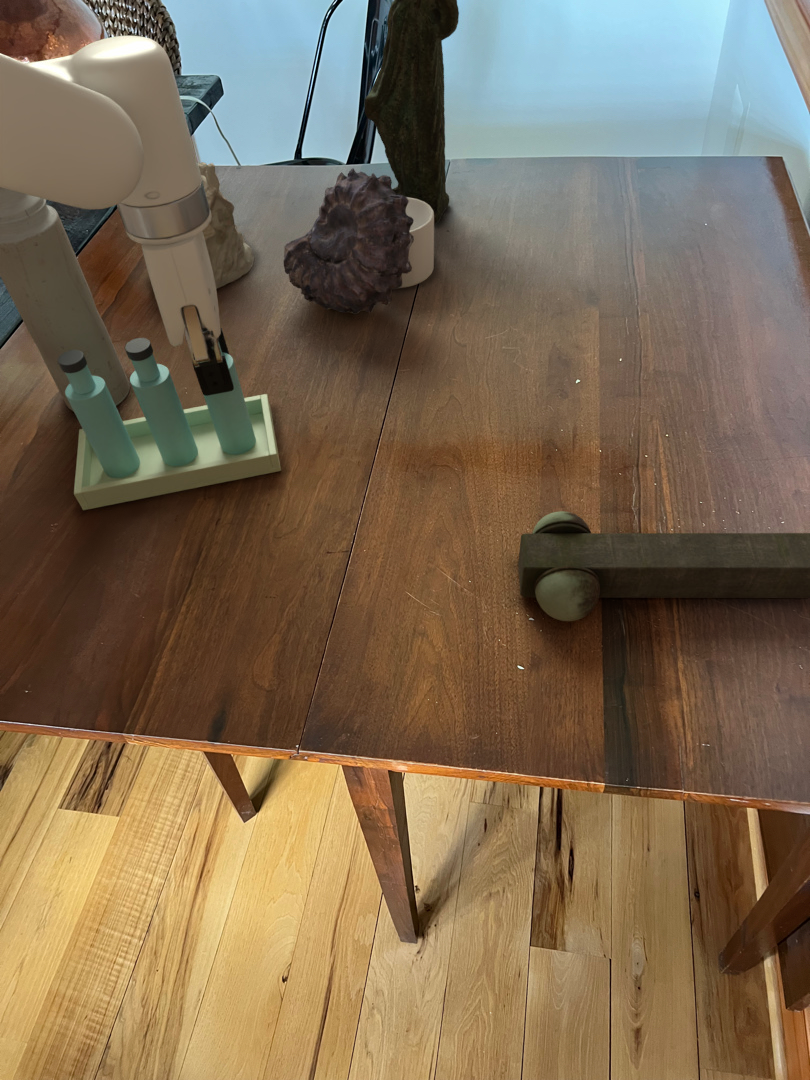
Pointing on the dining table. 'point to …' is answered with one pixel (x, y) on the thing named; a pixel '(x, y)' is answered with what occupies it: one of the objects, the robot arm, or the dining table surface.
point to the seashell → (353, 246)
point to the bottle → (231, 414)
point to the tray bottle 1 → (98, 416)
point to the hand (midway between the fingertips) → (217, 376)
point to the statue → (414, 98)
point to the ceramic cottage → (223, 233)
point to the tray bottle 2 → (160, 405)
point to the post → (655, 565)
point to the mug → (420, 242)
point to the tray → (163, 479)
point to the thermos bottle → (53, 292)
